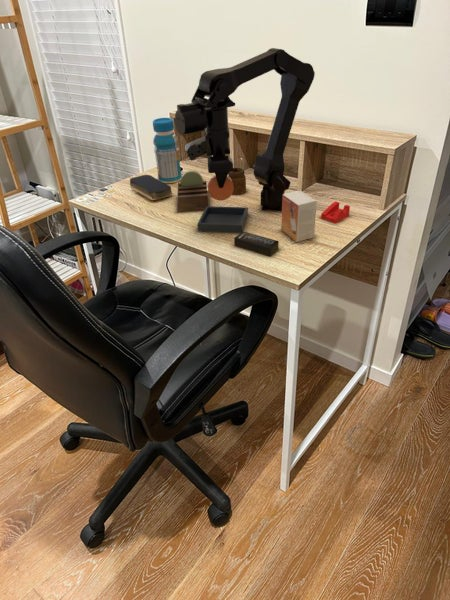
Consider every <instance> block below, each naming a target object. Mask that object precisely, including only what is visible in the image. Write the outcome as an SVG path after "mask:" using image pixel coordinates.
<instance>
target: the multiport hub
mask: <svg viewBox="0 0 450 600" xmlns="http://www.w3.org/2000/svg"><path fill="white" fill-rule="evenodd" d="M233 239H234V240H233V241H234V247H237V248H240V249H244V250H246V251H251V252H254V253H256V254H260V255H263V256H267V257H272V256H273V255H274V254H275V253H276V252H277V251H279V246H280V245H279V243H280V241H279V240H276V239H272V238H269V237H265V236H262V235H258V234H254V233H251V232H247V231H243V232H241V233H238V234H237V235H235V236H234V238H233Z"/></svg>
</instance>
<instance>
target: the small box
mask: <svg viewBox="0 0 450 600" xmlns="http://www.w3.org/2000/svg"><path fill="white" fill-rule="evenodd" d="M317 203H318V201H317V200H316V199H314V198H312V196H310V195H308V194H306V193H305V192H303V191H302V190H295V191H291V192H286V193H285V194H283V196H282V211H281V222H280V223H281V224H280V226H281V227H280V229H281V231H282V232H283V233H284V234H286V235H287V236H288V237H290V238H291V239H292V240H293V241H294V242H295V243H299V242H302V241H306V240H310V239H313V238H314V237H315V231H316V230H315V229H316V218H317V217H316V215H317V205H318V204H317Z"/></svg>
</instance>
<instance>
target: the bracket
mask: <svg viewBox="0 0 450 600" xmlns="http://www.w3.org/2000/svg"><path fill="white" fill-rule="evenodd" d="M350 209H351V206H350V205H348V204H345V205H343V209H342V208H340V202H339V201H334V202H332V203H330V204H329V206H328V207H326V208H325V209H324V211H322V212H321V214H320V219H321V220H325V221H326V222H330V223H333V224H337V223H338V222H341V221H343V220H345V218H347V217H349V216H350V211H351V210H350Z"/></svg>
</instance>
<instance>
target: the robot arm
mask: <svg viewBox="0 0 450 600" xmlns="http://www.w3.org/2000/svg"><path fill="white" fill-rule="evenodd" d="M271 71H274V72H275V73H277V74H278V75H280V76H281V77H280V83H279V85H280V92H281V97H280V101H279V105H278V108H277V111H276V115H275V118H274V122H273V126H272V129H271V132H270V136H269V139H268V141H267V142H268V143H267V145H266V149H265V151H264V152H262V154H261V155H260V154H257V155H256V157H255V162H254V165H253V166H252V169H253V176H254V178H255V179H256V180H257V182H258V185H260V186H262V189H261V190H260V206H261V210H262V211H273V212H278V211H279V212H282V196H283V194H286V193H285V192H286V191H287V190H289V189H290V185H291V181H290V180H289V179H288V178H287V177H285V176H284V173H285V168H286V167H285V159H284V154H285V150H286V146H287V143H288V140H289V137H290V134H291V131H292V128H293V124H294V121H295V118H296V114H297V111H298V107H299V105H300V101H301V100H302V99H303V98H304V97H305V96H306V95H307V93H309V91H310V88H311V87H312V85H313V81H314V79H315V75H316V72H315V70H314V67H313V64H311V63H309V62H304V61H301V59H299V58H296V57H294V56H292V55H291V54H289V52H287V51H286V50H284V49H282V48H276V47H271V48H269V49H268V50H267V51H265V52H262V53H259V54H258V55H256V56H253V57H251V58H249V59H246V60H243V61H241V62H239V63H237V64H235V65H233V66H230V67H223V68H215V69H211V70H207V71H204V72H203V73H202V74H201V75H200V78H199V80H198V85H197V87H196V90H195V92H194V94H193V96H192V99H191V102H190V103H189V102H188V103H180V104H176V108H177V109H176V111H175V113H174V118H173V122H174V127H175V129H176V131H177V133H178V134H179V135H180V136H187V135H191V134H195V133H200V132H203V131H204V130H205V131H204V136H202V137H199V138H197V139H195V140H192V141H190V142H188V143H187V144H185V145H184V150H185V152H186V156H187V157H188V158H189V161H194V160H196V159H197V158H199V157H201V156H204V155H206V157H207V171H208V172H207V173H208V174H214V176H215V175H216V179H217V183H218V186H219V188H223V186H224V184H225V181H226V178H227V176H228V173H229V172H232V171H233V168H234V162H233V158H232V157H231V156H230V154H231V149H230V131H229V111H228V110H229V109H228V108H232V107H235V106H236V102H234V101H233V100H232V99H231V98H230V96H231V95H232V94H235V92H236V91H237V90H238V88H239V87H241V85H243V84H246V83H248V82H250V81H252V80H254V79H256V78H258V77H261V76H262V75H263V76H264V75H266V74H267V73H269V72H271ZM205 97H206V98H205ZM227 154H229V156H228V155H227ZM226 155H227V156H226Z"/></svg>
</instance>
